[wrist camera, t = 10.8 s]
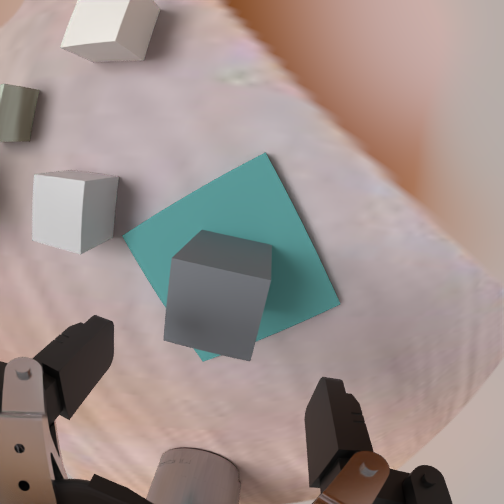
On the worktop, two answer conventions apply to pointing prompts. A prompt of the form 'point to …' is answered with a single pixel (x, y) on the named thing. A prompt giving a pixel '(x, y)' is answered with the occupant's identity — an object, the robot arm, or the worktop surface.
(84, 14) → the offwhite block
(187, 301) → the charcoal block
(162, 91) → the worktop surface
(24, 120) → the sage block
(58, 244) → the grey block
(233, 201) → the teal mat
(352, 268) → the worktop surface
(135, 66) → the worktop surface
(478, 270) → the worktop surface
